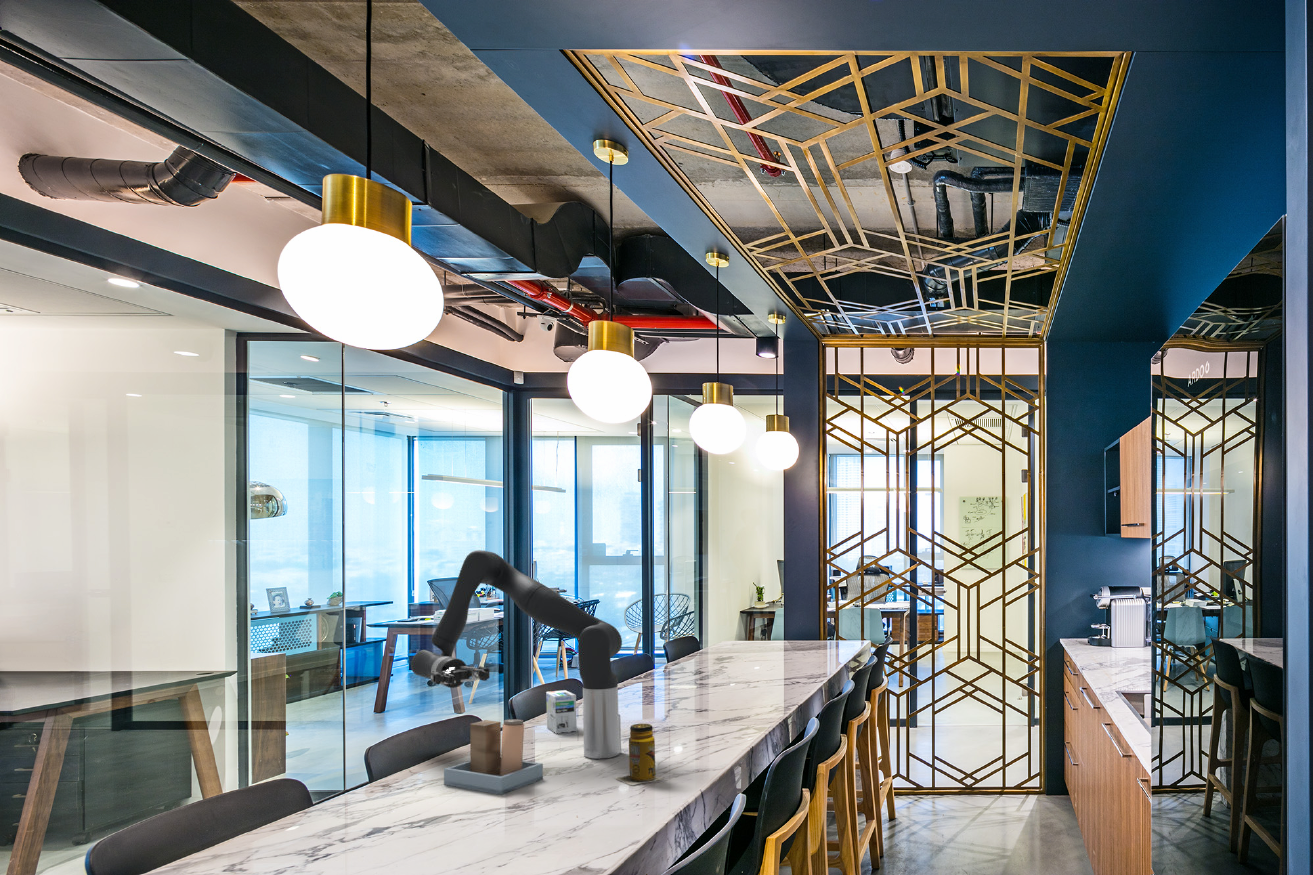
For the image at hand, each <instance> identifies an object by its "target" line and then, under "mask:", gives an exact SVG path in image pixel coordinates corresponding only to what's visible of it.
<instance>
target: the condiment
mask: <svg viewBox="0 0 1313 875" xmlns="http://www.w3.org/2000/svg"><path fill="white" fill-rule="evenodd" d="M629 730H630V731H629V737H628V756H629V757H628V760H629V761H628V763H629V764H628V766H629V768H628V769H629V774H628V775H625V776H619V777H615V779H616V780H618V781H620V782H622V783H624V784H627V785H629V786H635V785H636V786H637V785H641V784H645V783H646V784H647V783H652V782H657V781H661V780H663V778H662V777H659V776H656V753H655V751H656V750H655V745H656V744H655V737H654V736H653V734H654V732H653V725H652V724H649V723H636V724H634V723H633V724H632V725H630V728H629Z"/></svg>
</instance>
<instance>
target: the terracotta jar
mask: <svg viewBox="0 0 1313 875" xmlns="http://www.w3.org/2000/svg"><path fill="white" fill-rule="evenodd" d="M524 735H525V723H524V720H523V719H517V718H516V719H513V718H512V719H505V720H503V723H502V729H501V767H500V776H504V775H507V774H510V773H512V772H515V771H518V770H521V769H522V762H523V761H524V759H523V758H524V757H523V756H524V755H523V754H524V738H525V736H524Z"/></svg>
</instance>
